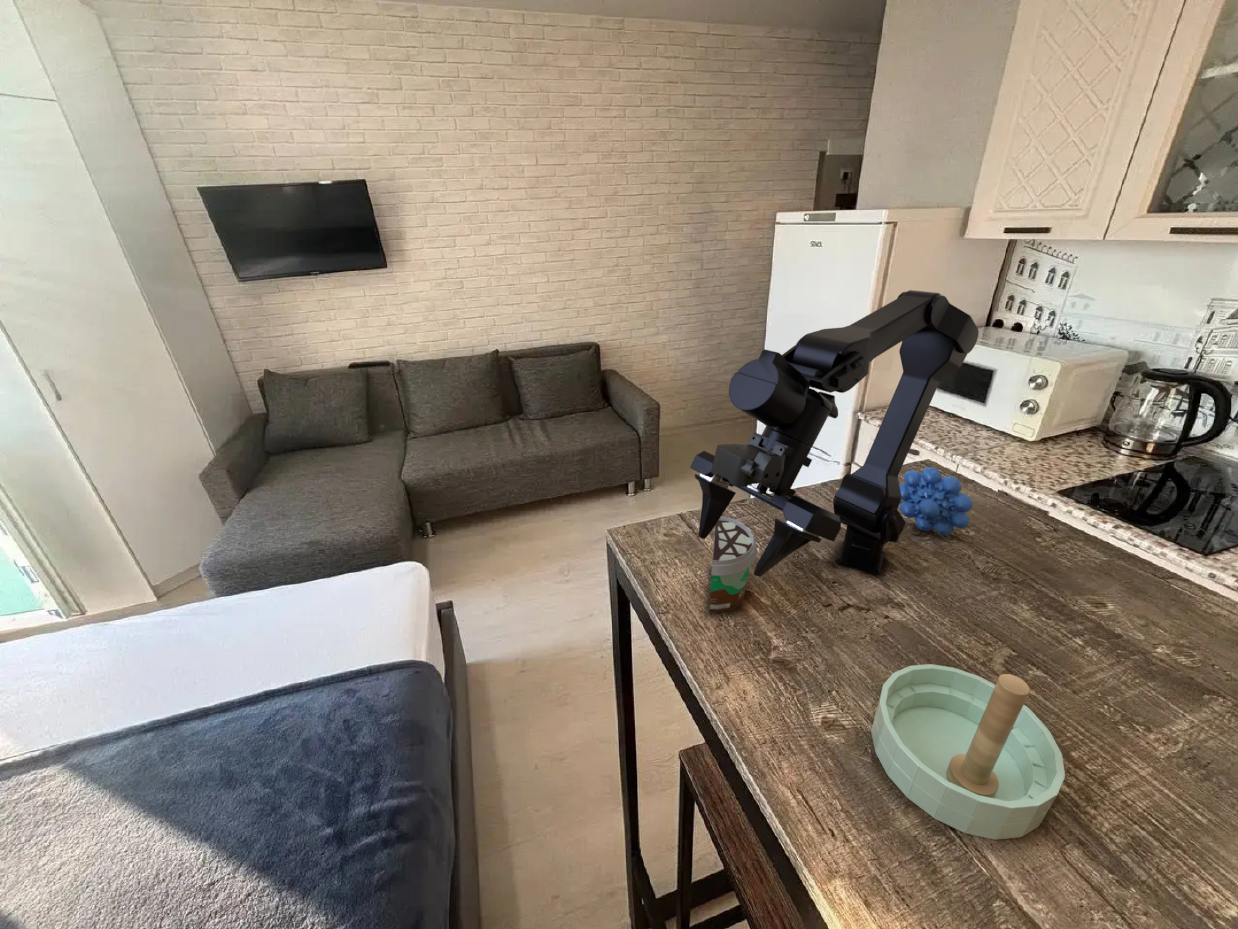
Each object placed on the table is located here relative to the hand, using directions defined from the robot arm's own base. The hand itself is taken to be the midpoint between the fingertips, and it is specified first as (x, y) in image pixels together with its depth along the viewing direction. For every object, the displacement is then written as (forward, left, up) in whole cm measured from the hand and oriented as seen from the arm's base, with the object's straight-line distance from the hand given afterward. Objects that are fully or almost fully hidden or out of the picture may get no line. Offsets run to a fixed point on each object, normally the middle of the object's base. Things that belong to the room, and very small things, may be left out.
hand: (727, 555), depth 61 cm
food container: (-10, -3, -15) cm, 18 cm away
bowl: (+3, +26, -15) cm, 30 cm away
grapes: (-41, +20, -15) cm, 48 cm away
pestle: (+5, +28, -14) cm, 32 cm away
